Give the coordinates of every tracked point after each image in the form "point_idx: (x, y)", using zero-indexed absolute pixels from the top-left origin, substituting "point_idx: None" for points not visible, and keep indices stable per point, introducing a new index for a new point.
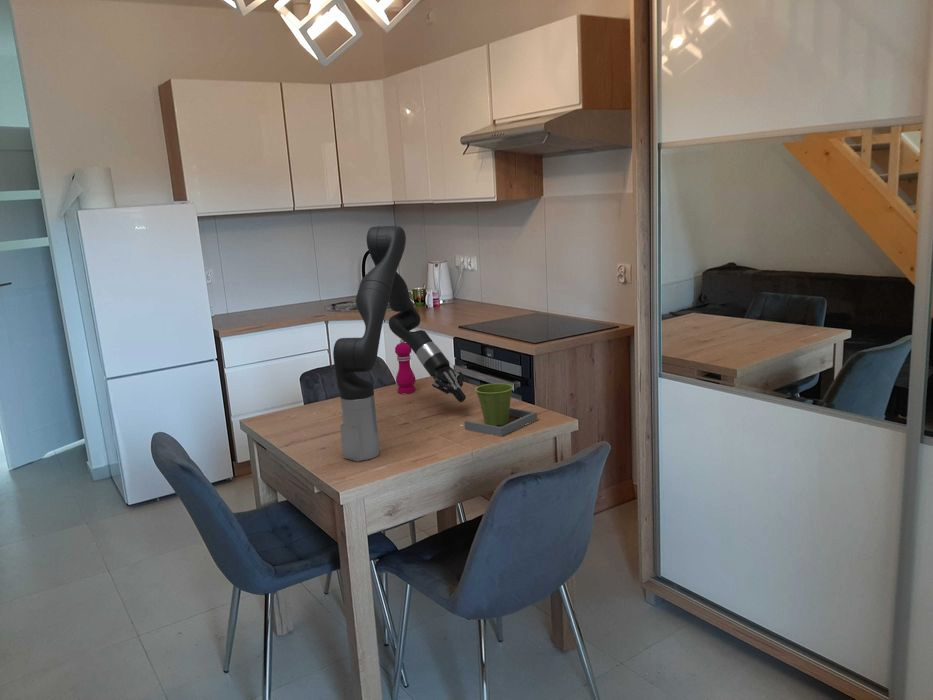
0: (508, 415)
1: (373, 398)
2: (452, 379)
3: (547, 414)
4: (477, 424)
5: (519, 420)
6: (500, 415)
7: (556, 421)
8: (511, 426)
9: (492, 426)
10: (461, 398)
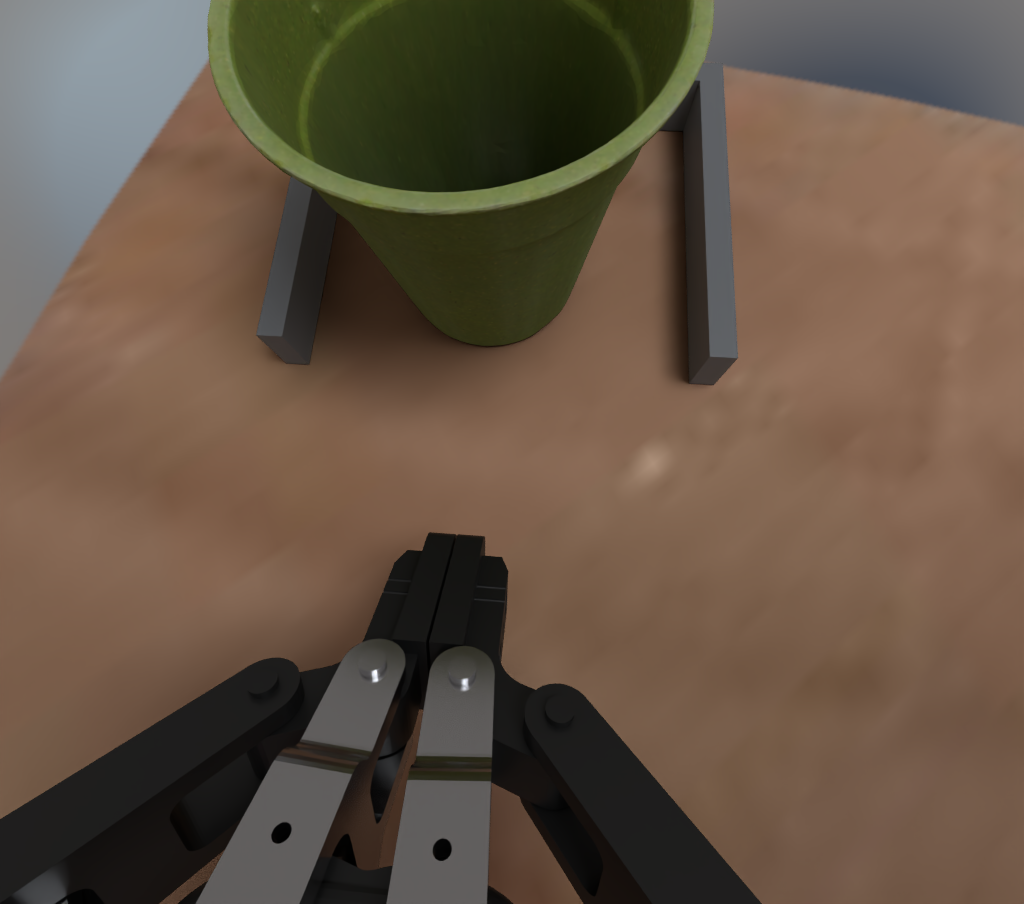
0: (458, 160)
1: None
2: (324, 870)
3: (207, 113)
4: (730, 240)
5: None
6: (548, 146)
7: None
8: None
9: (719, 124)
10: (481, 560)
